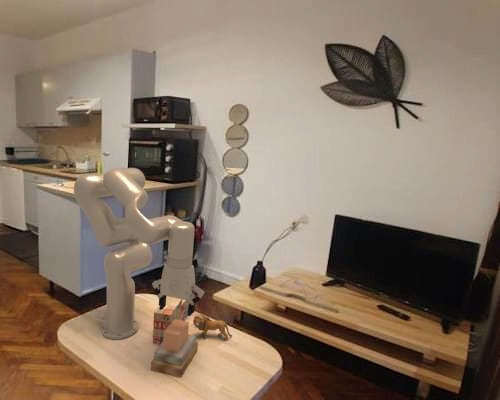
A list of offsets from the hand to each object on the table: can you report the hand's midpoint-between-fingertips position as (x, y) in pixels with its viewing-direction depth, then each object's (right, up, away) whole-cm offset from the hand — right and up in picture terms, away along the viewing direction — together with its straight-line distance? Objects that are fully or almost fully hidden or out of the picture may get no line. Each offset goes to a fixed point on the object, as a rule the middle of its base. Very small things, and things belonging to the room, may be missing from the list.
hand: (176, 311), depth 107 cm
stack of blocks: (-6, -14, +21) cm, 26 cm away
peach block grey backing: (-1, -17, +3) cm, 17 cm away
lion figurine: (+9, -16, +17) cm, 25 cm away
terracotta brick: (-1, -11, +2) cm, 11 cm away
